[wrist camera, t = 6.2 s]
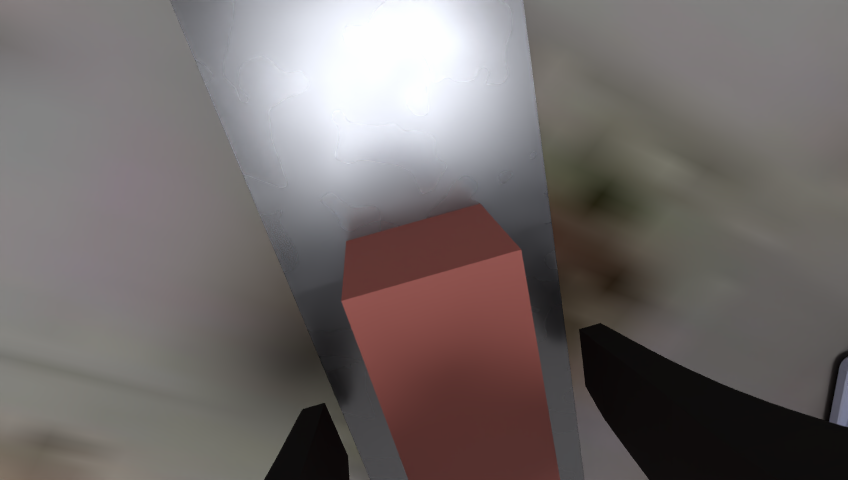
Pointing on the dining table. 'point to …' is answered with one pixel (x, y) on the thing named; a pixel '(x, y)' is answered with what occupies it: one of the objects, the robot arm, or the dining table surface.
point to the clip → (452, 347)
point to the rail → (384, 158)
